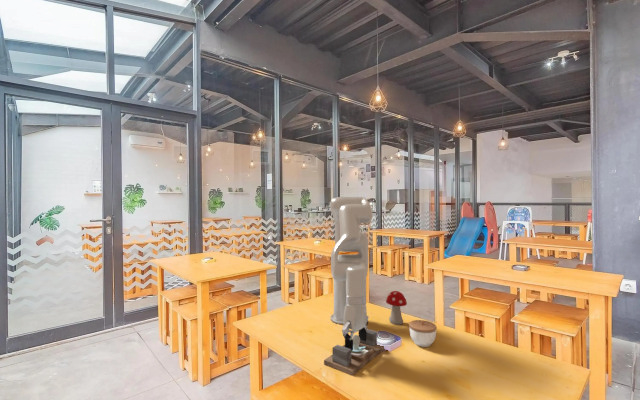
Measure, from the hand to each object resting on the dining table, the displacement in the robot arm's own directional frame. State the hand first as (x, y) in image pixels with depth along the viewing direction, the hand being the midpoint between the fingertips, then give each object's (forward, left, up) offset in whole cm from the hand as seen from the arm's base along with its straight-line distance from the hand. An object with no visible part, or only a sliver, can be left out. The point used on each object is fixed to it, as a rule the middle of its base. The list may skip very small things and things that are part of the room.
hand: (355, 344), depth 125 cm
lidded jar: (-26, +16, -5) cm, 31 cm away
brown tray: (0, 0, -4) cm, 4 cm away
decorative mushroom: (-40, -2, -5) cm, 40 cm away
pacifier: (+1, 0, -3) cm, 3 cm away
